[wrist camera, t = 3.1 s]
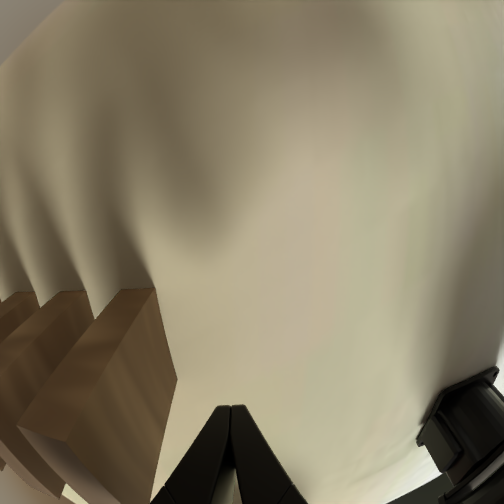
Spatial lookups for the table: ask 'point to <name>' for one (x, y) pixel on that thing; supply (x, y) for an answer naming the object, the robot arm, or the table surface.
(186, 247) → the table surface
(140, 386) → the domino
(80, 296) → the domino
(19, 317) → the domino
